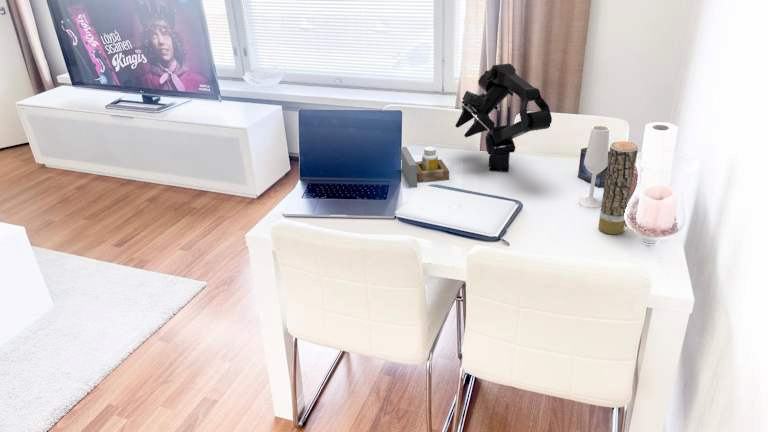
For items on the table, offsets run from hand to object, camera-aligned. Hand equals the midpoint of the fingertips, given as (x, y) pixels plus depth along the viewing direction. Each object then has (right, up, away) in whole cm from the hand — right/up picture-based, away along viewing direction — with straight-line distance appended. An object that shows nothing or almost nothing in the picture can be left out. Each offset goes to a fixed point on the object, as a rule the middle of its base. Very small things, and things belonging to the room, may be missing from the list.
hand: (460, 131), depth 202 cm
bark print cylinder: (+37, -33, -38) cm, 63 cm away
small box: (+44, -18, -8) cm, 48 cm away
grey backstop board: (-18, -16, 0) cm, 24 cm away
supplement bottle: (-11, -15, +1) cm, 18 cm away
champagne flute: (+37, -25, -22) cm, 50 cm away
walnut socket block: (-11, -16, +2) cm, 19 cm away
